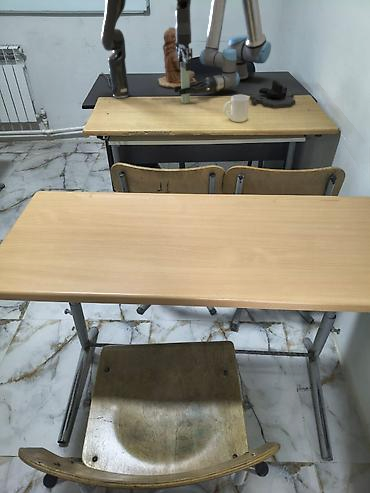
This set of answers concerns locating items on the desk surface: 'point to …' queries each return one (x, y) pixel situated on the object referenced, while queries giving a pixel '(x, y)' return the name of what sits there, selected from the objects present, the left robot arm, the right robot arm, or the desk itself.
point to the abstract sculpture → (273, 96)
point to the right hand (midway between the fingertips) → (176, 91)
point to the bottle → (185, 85)
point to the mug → (238, 108)
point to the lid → (182, 64)
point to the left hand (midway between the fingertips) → (184, 68)
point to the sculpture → (172, 62)
